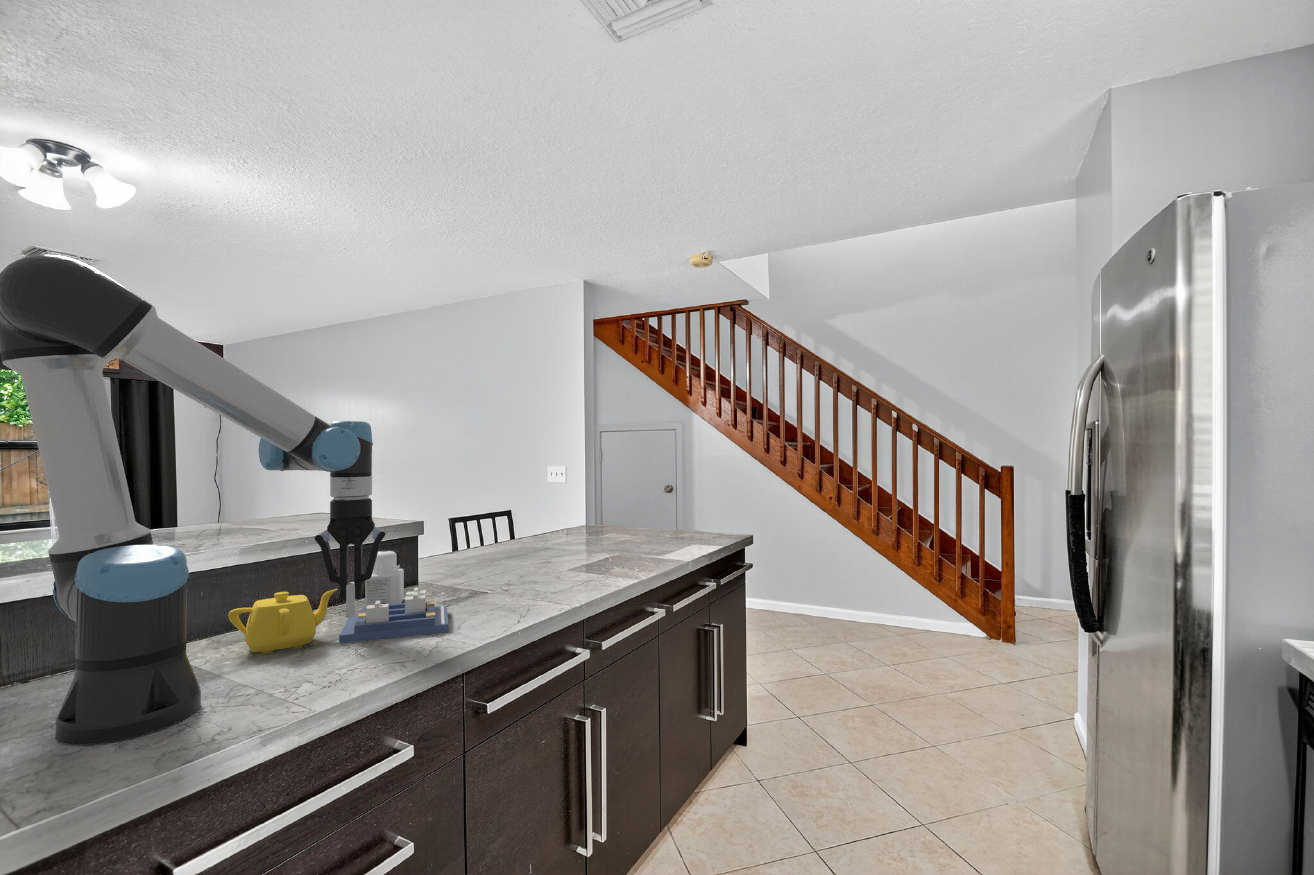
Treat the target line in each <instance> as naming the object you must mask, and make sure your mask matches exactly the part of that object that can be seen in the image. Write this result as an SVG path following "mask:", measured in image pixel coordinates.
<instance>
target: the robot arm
mask: <svg viewBox="0 0 1314 875" xmlns="http://www.w3.org/2000/svg"><path fill="white" fill-rule="evenodd" d="M0 357H1V361H2V365H4V366H6V367H7V368H8V369H10V370H12V371H14V372H16V373H18V374H19V375H20V376H21V379H22V384H23V389H24V392H25V396H26V400H27V406H28V409H29V413H30V418H31V422H32V425H33V426H32V427H33V430H34V434H35V439H36V443H37V449H38V451H39V456H40V459H41V465H42V468H43V472H44V476H45V481H46V485H47V486H46V487H47V489H48V492H49V493H48V494H49V498H50V503H51V506H52V511H53V514H54V519H55V523H56V527H57V531H58V535H59V536H58V539H57V540H56V542H55V543H54V544H52V546H51V547H50V548H49V549H48V550H47V553H48V557H49V562H50V565H51V570H52V574H53V578H54V580H53V581H54V582H53V583H52V585H53V589H52V596H53V600H54V603H55V605H56V606H57V608H58V609H59V611H60V612H61V613H62V614H64V616H65V617H67V618H68V619H69V620H72V621H73V622H74V623H75V656H74V657H75V663H74V664H75V666H74V670H75V671H74V676H73V678H72V680H71V684H70V685H69V687H68V688H69V689H68V691H67V693H66V695H65V698H64V700H63V702H62V705H61V707H60V709H59V712H58V715H57V717H56V720H55V739H56V741H58V743H61V744H66V745H72V746H73V745H74V746H77V745H78V746H79V745H80V746H81V745H85V746H86V745H98V744H104V743H113V742H117V741H122V740H128V739H131V738H136V737H140V736H142V735H146V734H150V733H153V732H157V731H159V730H162V729H165V728H167V727H170V726H172V725H175V724H177V723H179V722H181V721H183V720H185V719H188V718H189V717H191V716H192V715H193V714H194V713H196V712H197V711H199V709H200V707H201V704H202V697H201V696H202V690H201V686H200V684H199V681H198V679H197V677H196V675H195V672H194V670H193V668H192V666H191V662H190V660H189V657H188V655H187V628H188V626H187V622H188V621H187V618H188V616H187V615H188V610H187V609H188V579H189V575H190V574H189V572H190V569H189V568H188V560H187V557H186V554H185V552H183V551H182V550H181V549H179V548H177V547H174V546H169V545H157V544H154V541H153V536H152V532H151V528H148V527H146V526H144V525H142V524H140V523H138V522H137V520H136V517H135V513H134V509H133V504H132V500H131V496H130V491H129V486H128V482H127V479H126V478H127V477H126V473H125V468H124V464H123V459H122V455H121V450H120V446H119V442H118V438H117V432H116V428H115V422H114V419H113V413H112V410H111V405H110V401H109V397H108V391H107V387H106V382H105V378H104V374H103V370H104V368H105V367H106V365H108V364H109V363H110V362H111V361H112V360H113V359H116V360H117V359H118V360H121V361H123V362H124V363H126V364H128V365H130V366H132V367H134V368H135V369H137V370H139V371H141V372H143V373H144V374H145V375H148V376H149V377H152V378H154V379H155V380H157V381H158V382H160V383H162V384H164V385H166V386H168V387H170V388H171V389H172V390H175V391H176V392H177V393H180V394H182V395H184V396H186V397H187V398H189V399H191V400H192V401H194V402H196V403H198V404H200V405H202V406H204V407H205V408H207V409H209V410H211V411H212V412H214V413H216V414H218V415H219V416H220V417H221V416H222V417H223V418H225V419H227V420H229V421H231V422H232V423H233V424H236V425H238V426H239V427H241V428H243V429H245V430H247V431H249V432H250V433H252V434H254V435H256V436H257V437H259V442H258V458H259V463H260V465H261V466H262V467H263V469H265V470H266V471H280V472H284V471H319V472H320V471H321V472H328V473H329V477H330V480H329V483H330V484H329V496H330V497H331V498H332V500H330V501H329V523H328V525H327V527H326V529H325V530H324V531H322V532H321V533H317V534H316V535H315V536H314V540H315V541H316V543H317V545H318V546H319V547H320V549H321V554H322V558H323V561H324V565H325V567H326V568H325V569H326V572H327V577H328V580H329V581H330V583H336V584H338V585H339V599H340V601H343V602H344V601H345V603H346V604H345V607H346V608H345V612H346V613H345V616H346V618H345V619H348V618H353V617H355V615H356V614H357V600H361V598H362V596H363V582H365V580H368V579H370V578H371V576H372V573H373V569H374V566H375V562H376V558H377V554H378V551H380V550H379V549H380V546H381V542H382V541H383V539H384V538H385V536H386V535H387V531H386V530H384V529H383V530H382V529H380V528H379V527H376V524H375V522H374V521H373V500H372V499H371V498H370V497H371V496H372V494H373V469H372V468H373V445H374V444H373V434H372V432H373V431H372V427H371V425H370V423H368V422H366V421H359V420H352V421H351V420H350V421H348V420H338V421H337V420H335V421H332V422H331V423H330V424H329V423H327V422H326V421H324V420H322V419H321V418H319V417H317V416H315V415H314V414H312V413H311V412H309V411H308V410H306V409H304V408H303V407H302V406H300V405H298V404H297V403H295V402H293V401H292V400H291V399H289V398H287V397H285V396H284V395H282V394H281V393H280V392H277V391H276V390H274V389H273V388H271V387H270V386H268V385H266V384H265V383H263V382H261V381H260V380H258V379H257V378H255V377H254V376H252V375H251V374H249V373H247V372H245V371H244V370H243V369H241V368H240V367H238V366H236V365H235V364H233V363H232V362H230V361H228V360H226V359H225V358H224V357H222V356H220V355H219V354H217V353H215V352H214V351H213V350H211V349H209V348H207V347H206V346H204V345H203V344H202V343H199V342H198V341H197V340H195V339H193V338H192V337H190V336H188V335H186V333H183V331H181V330H179V329H178V328H176V327H174V326H172V325H171V324H169V323H168V322H166V321H164V319H161V318H160V317H159V315H158V314H157V310H156V307H155V306H154V305H153V304H152V303H150V302H148V301H147V300H145V299H143V298H142V297H141V296H139V295H137V294H136V293H134V292H133V291H131V290H130V289H129V288H127V287H125V286H124V285H122V284H120V283H119V282H117V281H116V280H114V279H112V278H111V277H110V276H108V275H106V274H105V273H103V272H101V271H100V270H98V269H97V268H95V267H93V266H91V265H89V264H87V263H84V262H82V261H80V260H77V259H74V258H71V257H67V256H62V255H57V254H46V253H45V254H34V255H29V256H25V257H22V258H19V259H16V260H15V261H13V262H11V263H9V264H8V265H7V266H5V268H3V270H2V271H1V272H0ZM371 533H372V539H373V540H374V541H373V543H372V545H371V546H372V547H371V551H370V553H369V557H368V562H367V565H366V569H365V572H364V573H363V547H364V546H363V544H364V542H365V541H366V539H368V537H369V536H370V534H371ZM330 535H331V537H332V538H333V539H334V540H335V541H336V542H337V543H338V544H339V574H338V570H337V567H336V563H335V559H334V556H333V553H332V548H331V545H330V542H329V541H330V539H331V537H330ZM349 545H353V550H354V551H353V552H354V562H353V563H354V566H353V569H354V573H353V574H354V576H353V577H354V578H353V579H354V580H353V581H350V582H349V548H350V547H349Z"/></svg>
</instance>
